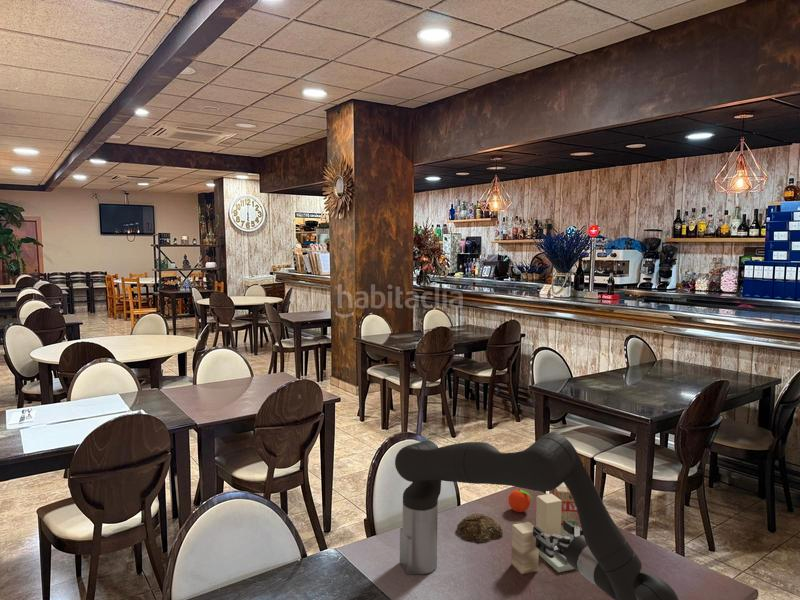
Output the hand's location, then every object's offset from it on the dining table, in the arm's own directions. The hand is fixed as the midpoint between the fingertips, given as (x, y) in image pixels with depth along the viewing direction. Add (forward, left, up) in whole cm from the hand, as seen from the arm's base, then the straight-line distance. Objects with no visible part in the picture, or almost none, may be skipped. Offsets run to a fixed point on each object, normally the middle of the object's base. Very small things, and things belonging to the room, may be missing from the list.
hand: (549, 527), depth 137 cm
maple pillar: (0, +10, -16) cm, 19 cm away
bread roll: (-3, +31, -17) cm, 35 cm away
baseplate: (+14, +15, -16) cm, 26 cm away
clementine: (+16, +38, -16) cm, 45 cm away
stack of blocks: (+28, +33, -17) cm, 46 cm away
